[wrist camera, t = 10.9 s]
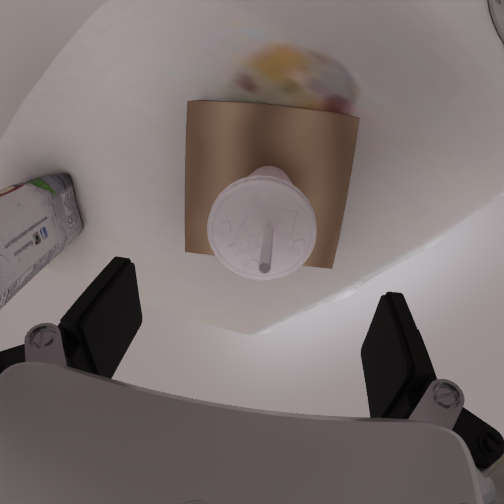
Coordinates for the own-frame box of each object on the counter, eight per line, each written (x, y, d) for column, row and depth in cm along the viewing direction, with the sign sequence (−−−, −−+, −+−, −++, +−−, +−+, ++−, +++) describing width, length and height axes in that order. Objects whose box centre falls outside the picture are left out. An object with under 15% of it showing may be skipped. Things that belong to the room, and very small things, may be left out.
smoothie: (321, 197, 27) (350, 291, 14) (259, 235, 29) (240, 345, 17) (278, 135, 25) (273, 175, 12) (216, 177, 27) (157, 255, 14)
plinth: (349, 115, 27) (359, 118, 23) (327, 249, 33) (332, 268, 30) (199, 100, 27) (187, 101, 24) (195, 234, 34) (185, 251, 30)
